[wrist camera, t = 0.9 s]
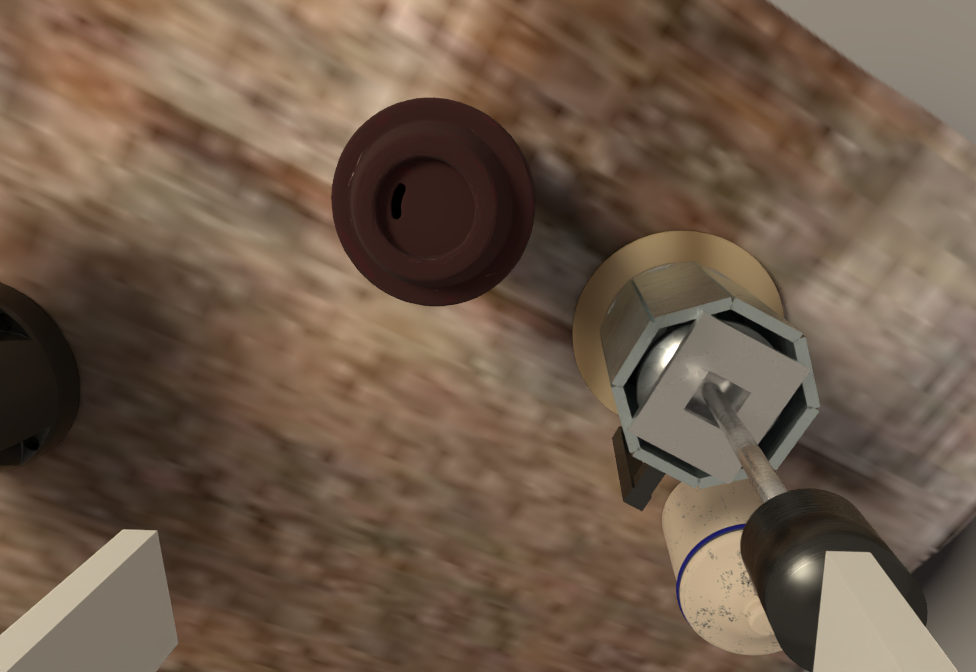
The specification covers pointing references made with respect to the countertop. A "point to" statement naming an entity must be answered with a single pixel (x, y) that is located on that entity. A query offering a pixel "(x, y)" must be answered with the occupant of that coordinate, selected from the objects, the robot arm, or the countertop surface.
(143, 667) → the robot arm
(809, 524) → the plunger
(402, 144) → the coffee cup
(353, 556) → the countertop surface
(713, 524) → the teacup with lid
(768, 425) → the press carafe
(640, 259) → the cork trivet
